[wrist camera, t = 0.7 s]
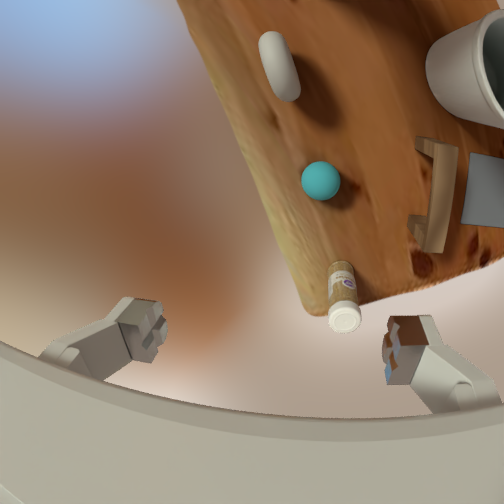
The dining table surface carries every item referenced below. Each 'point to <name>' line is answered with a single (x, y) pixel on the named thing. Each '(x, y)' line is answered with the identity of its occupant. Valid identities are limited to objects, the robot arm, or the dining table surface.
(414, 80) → the dining table surface
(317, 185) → the ball
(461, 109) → the utensil holder
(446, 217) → the bridge
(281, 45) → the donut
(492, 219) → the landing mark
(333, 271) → the sprinkles bottle
